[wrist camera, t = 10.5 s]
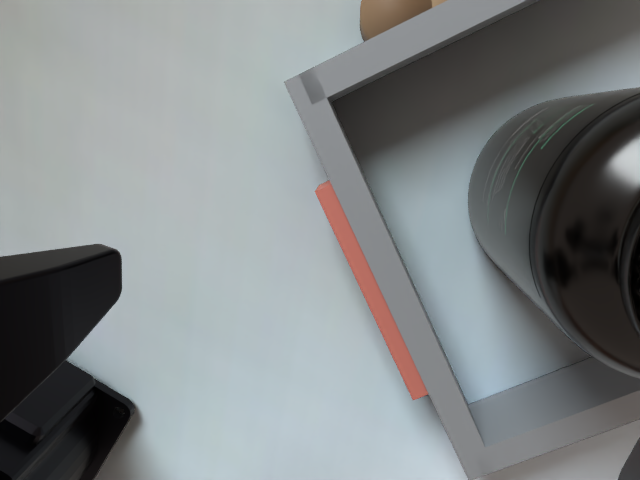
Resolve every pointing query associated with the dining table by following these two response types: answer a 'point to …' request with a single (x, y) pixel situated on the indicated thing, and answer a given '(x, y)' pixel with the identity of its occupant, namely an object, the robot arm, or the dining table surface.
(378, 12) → the rail
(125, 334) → the dining table surface
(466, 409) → the bay
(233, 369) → the dining table surface
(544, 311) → the supplement bottle
